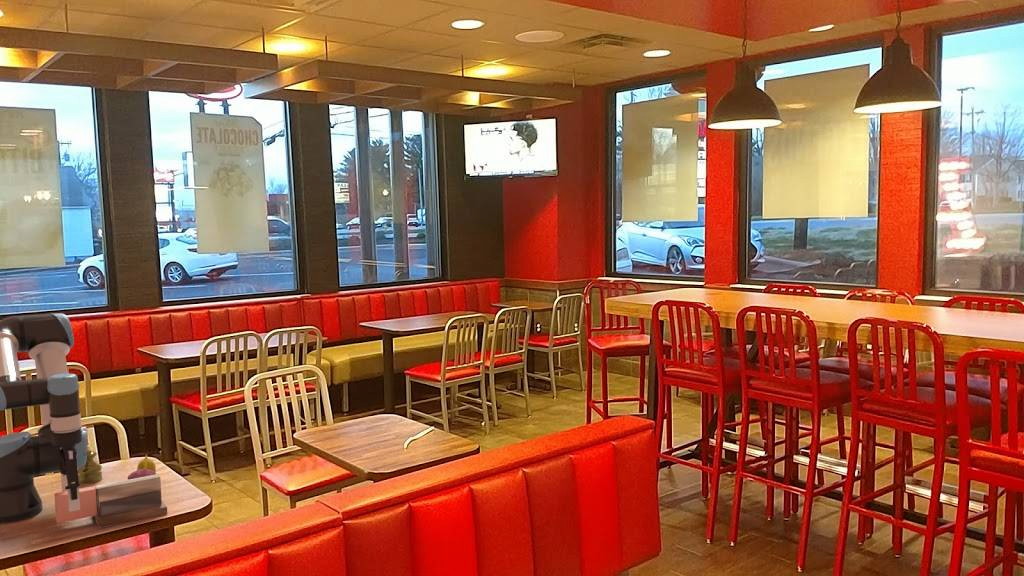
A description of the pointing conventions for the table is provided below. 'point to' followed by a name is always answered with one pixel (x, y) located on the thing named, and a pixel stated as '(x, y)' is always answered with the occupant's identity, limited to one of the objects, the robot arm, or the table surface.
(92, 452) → the christmas tree figurine
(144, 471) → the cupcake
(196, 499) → the table surface
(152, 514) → the ticket holder
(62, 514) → the stub
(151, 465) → the lemon
